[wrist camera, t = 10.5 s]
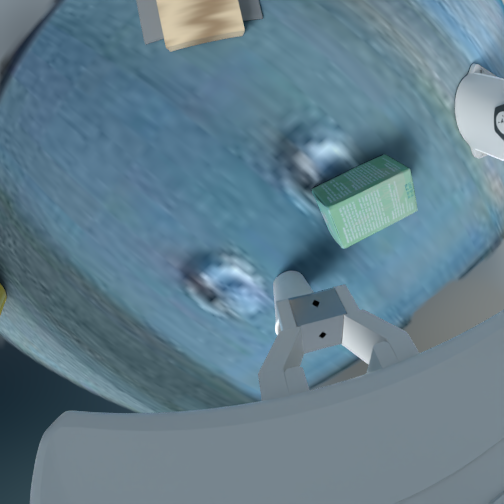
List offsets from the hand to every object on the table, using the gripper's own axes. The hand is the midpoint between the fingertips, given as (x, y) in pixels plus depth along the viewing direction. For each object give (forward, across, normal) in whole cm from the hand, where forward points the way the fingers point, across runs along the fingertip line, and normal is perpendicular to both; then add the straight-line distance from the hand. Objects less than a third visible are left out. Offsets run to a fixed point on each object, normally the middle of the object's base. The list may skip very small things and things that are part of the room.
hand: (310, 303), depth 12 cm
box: (+30, -15, +9) cm, 34 cm away
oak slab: (+27, +2, -16) cm, 31 cm away
